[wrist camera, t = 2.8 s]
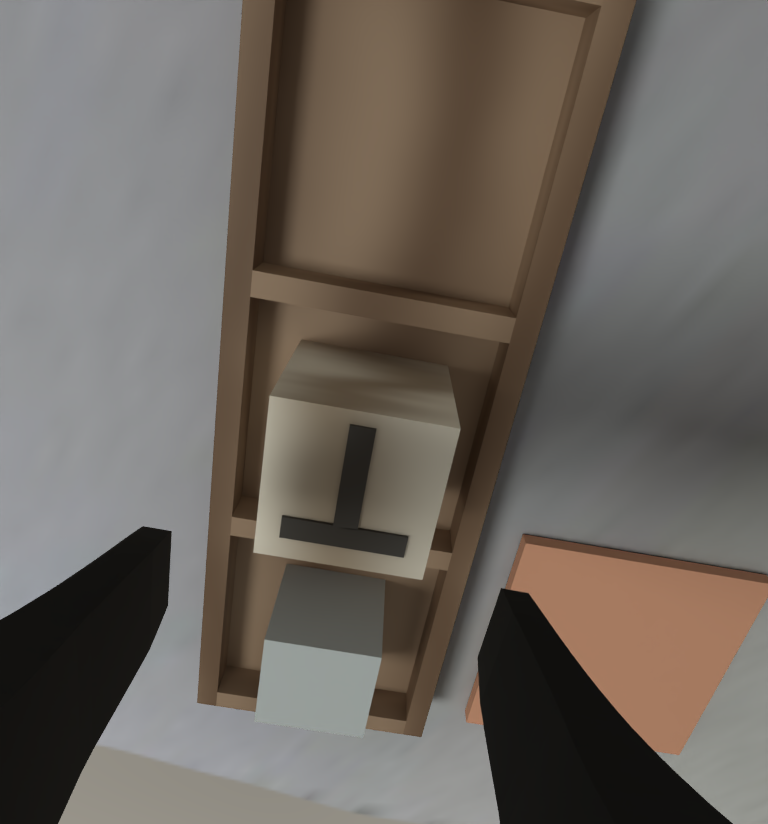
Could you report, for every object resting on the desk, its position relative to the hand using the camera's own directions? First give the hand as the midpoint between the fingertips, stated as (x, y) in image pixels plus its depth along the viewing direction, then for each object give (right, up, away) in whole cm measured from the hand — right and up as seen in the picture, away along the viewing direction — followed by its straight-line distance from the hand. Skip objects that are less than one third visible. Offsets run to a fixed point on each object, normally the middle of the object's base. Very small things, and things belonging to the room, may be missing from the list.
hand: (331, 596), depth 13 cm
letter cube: (0, +4, +8) cm, 9 cm away
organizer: (0, +4, +9) cm, 10 cm away
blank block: (-1, -4, +12) cm, 12 cm away
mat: (+11, -6, +13) cm, 18 cm away
